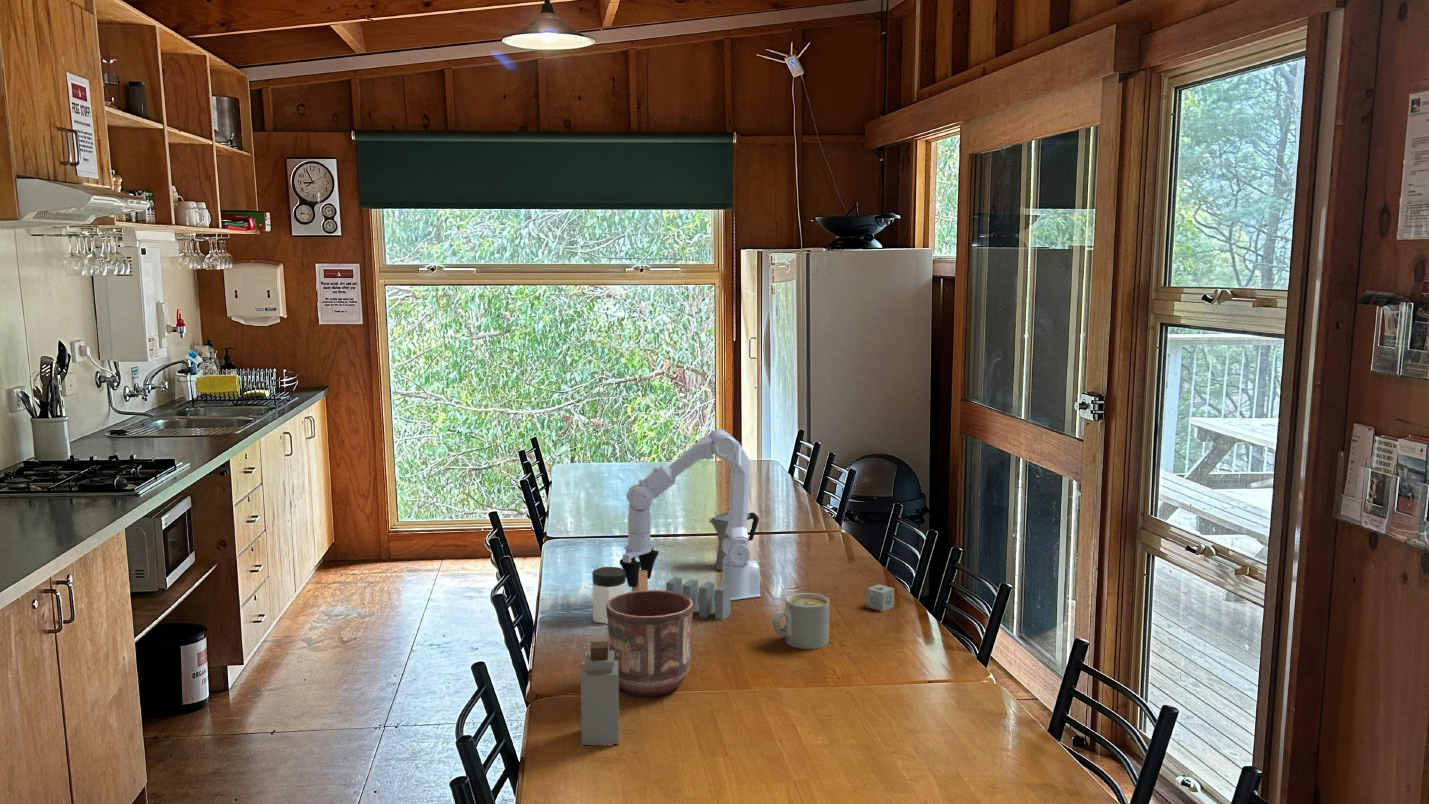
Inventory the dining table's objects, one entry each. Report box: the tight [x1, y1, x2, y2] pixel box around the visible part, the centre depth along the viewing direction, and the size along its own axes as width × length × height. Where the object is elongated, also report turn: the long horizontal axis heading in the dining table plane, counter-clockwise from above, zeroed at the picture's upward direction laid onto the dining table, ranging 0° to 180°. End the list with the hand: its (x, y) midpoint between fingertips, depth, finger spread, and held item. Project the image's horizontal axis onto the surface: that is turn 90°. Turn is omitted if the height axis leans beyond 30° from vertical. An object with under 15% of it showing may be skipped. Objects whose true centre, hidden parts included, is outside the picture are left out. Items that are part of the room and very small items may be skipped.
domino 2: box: [665, 576, 683, 594], centre depth 263 cm, size 2×5×8 cm, turn 157°
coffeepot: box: [708, 506, 760, 572], centre depth 297 cm, size 15×9×18 cm, turn 113°
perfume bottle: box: [580, 640, 620, 746], centre depth 192 cm, size 7×7×18 cm
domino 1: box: [631, 569, 649, 592], centre depth 269 cm, size 2×5×8 cm, turn 157°
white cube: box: [866, 583, 896, 612], centre depth 265 cm, size 5×5×5 cm
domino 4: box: [698, 581, 715, 618], centre depth 259 cm, size 2×5×8 cm, turn 156°
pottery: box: [606, 589, 694, 697], centre depth 215 cm, size 18×18×18 cm
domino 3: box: [682, 579, 699, 613], centre depth 261 cm, size 2×5×8 cm, turn 157°
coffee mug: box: [772, 592, 830, 650], centre depth 241 cm, size 13×10×10 cm
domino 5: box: [714, 584, 731, 621], centre depth 257 cm, size 2×5×8 cm, turn 157°
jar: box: [592, 566, 627, 625], centre depth 255 cm, size 9×8×12 cm
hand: (639, 582), depth 269 cm, fingers open, 7 cm apart
